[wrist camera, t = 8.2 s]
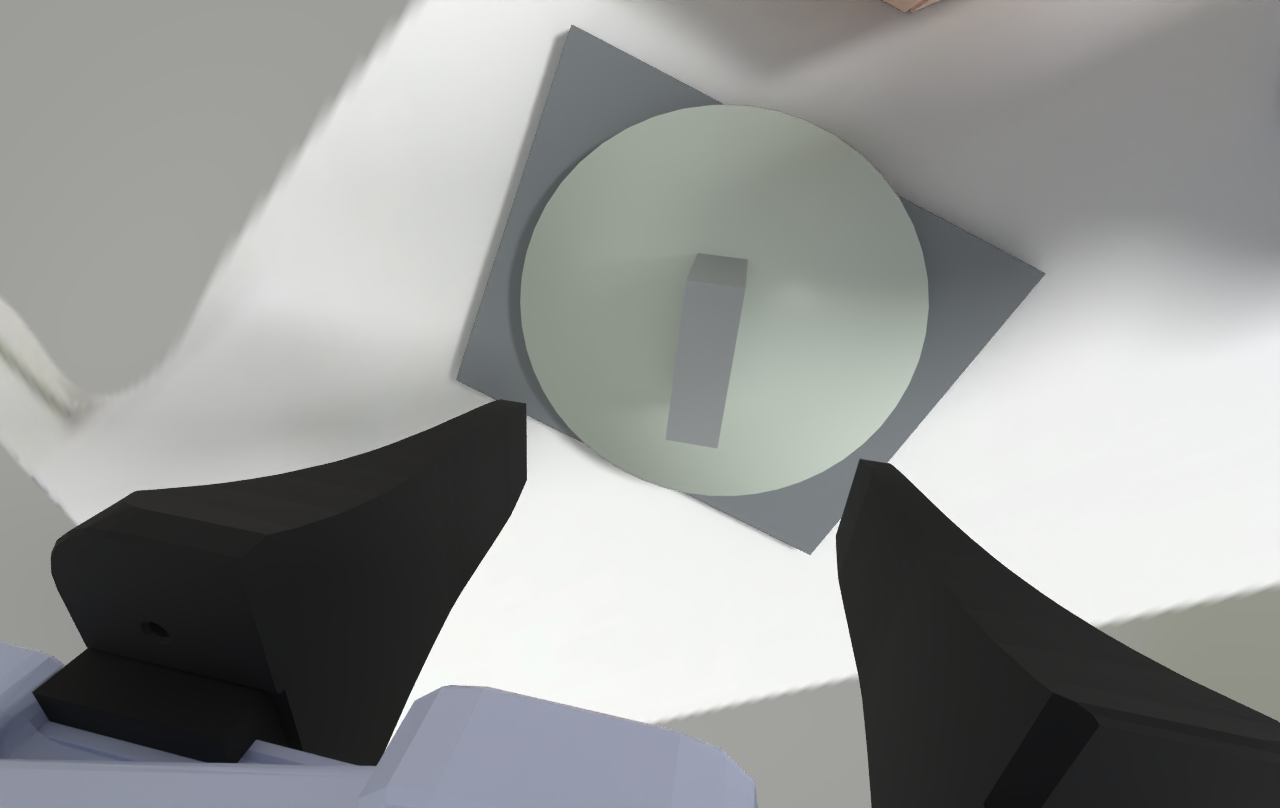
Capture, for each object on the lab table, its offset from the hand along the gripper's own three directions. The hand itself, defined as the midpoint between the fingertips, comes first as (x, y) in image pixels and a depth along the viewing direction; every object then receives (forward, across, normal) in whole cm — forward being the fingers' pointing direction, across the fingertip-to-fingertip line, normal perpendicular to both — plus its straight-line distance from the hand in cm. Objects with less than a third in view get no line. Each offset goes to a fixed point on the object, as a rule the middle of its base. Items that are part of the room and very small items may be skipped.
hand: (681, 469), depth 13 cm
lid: (+9, 0, 0) cm, 9 cm away
